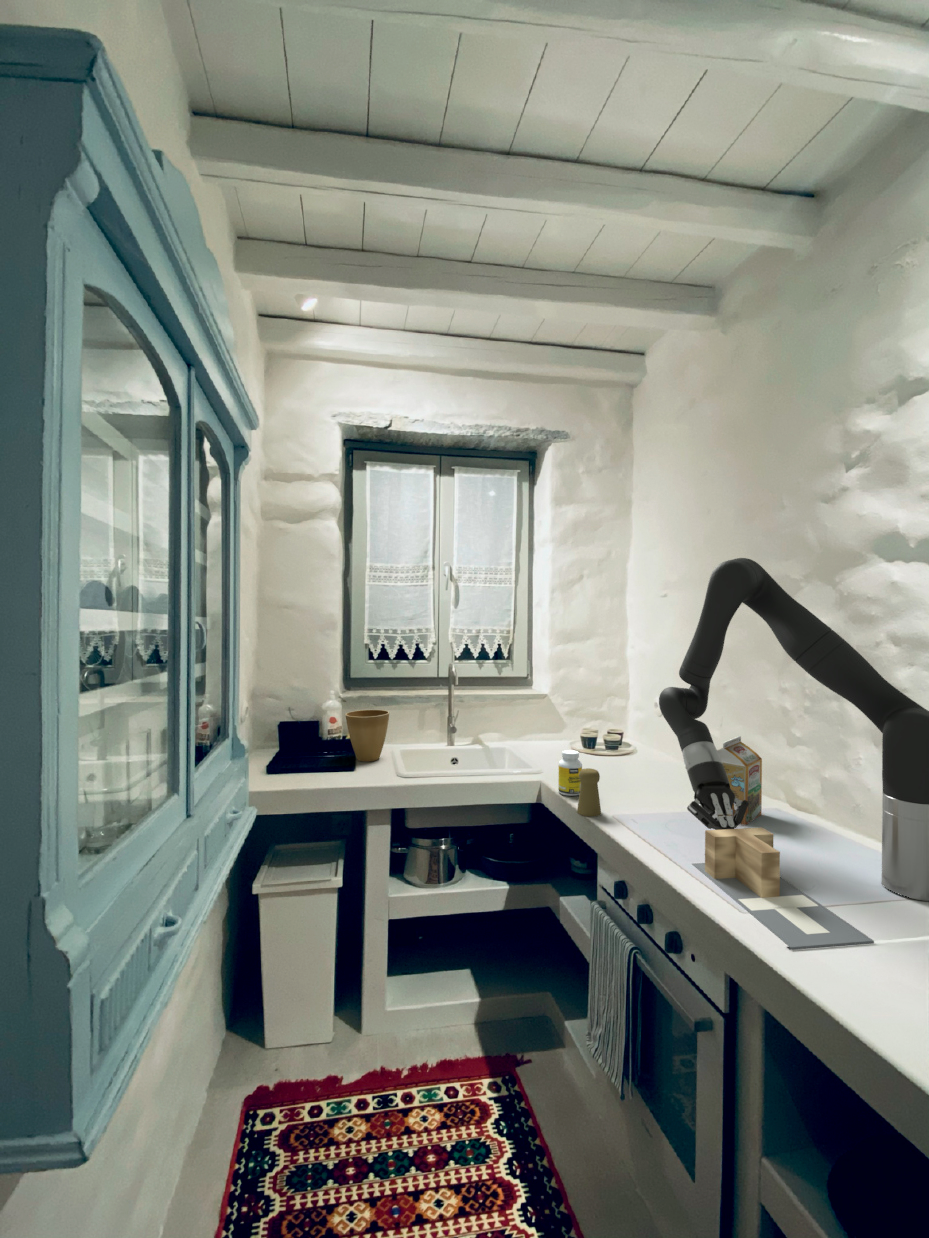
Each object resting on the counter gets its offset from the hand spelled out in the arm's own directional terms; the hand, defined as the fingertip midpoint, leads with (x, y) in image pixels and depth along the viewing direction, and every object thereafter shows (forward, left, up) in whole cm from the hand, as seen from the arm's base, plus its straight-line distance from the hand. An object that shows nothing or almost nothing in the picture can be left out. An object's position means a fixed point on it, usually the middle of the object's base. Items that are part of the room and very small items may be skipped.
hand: (732, 848), depth 119 cm
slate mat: (0, +12, -4) cm, 13 cm away
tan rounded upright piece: (+17, -36, -5) cm, 40 cm away
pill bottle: (+17, -52, -5) cm, 55 cm away
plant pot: (+75, -98, -5) cm, 123 cm away
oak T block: (0, +6, -4) cm, 7 cm away
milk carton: (-18, -30, -5) cm, 35 cm away
